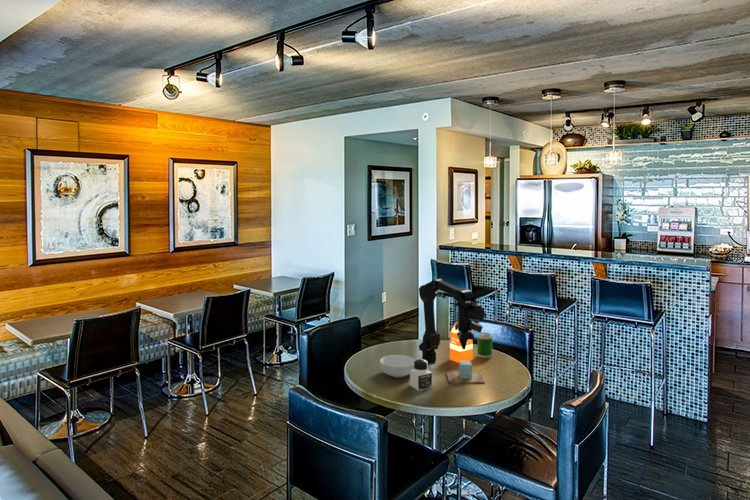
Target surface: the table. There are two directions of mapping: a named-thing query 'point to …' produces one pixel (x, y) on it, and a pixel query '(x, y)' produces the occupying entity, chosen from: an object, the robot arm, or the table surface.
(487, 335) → the soda can
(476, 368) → the table surface
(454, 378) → the wooden base plate
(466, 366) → the pale teal block
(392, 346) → the table surface
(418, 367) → the medicine bottle
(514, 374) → the table surface
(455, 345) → the orange juice
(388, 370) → the cereal bowl
